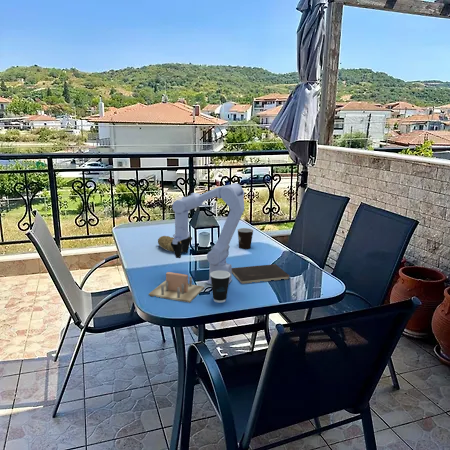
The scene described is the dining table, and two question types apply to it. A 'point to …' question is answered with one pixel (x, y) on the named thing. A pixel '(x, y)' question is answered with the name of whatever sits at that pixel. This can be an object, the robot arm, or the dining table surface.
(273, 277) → the hardcover book
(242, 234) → the coffee mug
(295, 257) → the dining table surface
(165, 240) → the sponge
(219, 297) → the dixie cup
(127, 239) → the dining table surface
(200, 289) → the dish rack
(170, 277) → the brown rectangular block
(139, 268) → the dining table surface
